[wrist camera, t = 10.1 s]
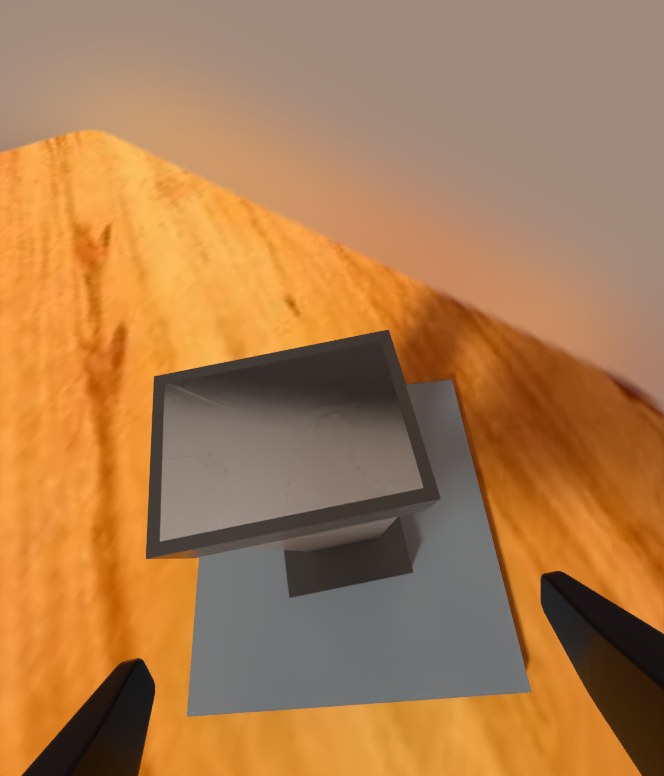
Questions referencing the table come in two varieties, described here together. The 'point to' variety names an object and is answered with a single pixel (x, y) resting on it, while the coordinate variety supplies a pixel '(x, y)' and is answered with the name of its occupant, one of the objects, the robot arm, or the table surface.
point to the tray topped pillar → (291, 462)
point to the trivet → (366, 608)
